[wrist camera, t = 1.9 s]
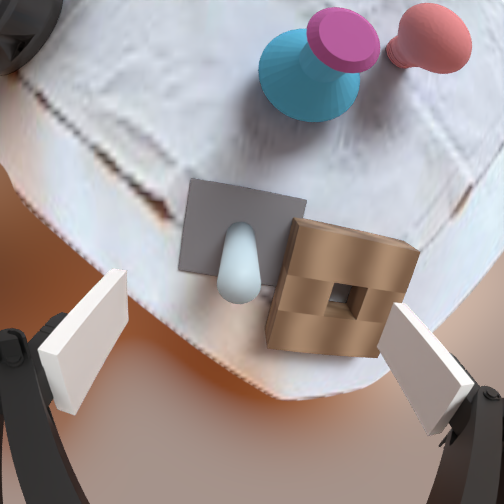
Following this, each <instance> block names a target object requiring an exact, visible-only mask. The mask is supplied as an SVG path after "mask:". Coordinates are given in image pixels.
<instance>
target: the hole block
mask: <svg viewBox="0 0 504 504" xmlns="http://www.w3.org/2000/svg"><path fill="white" fill-rule="evenodd" d="M419 255H420V251H418V250H417V249H415V248H414V247H412V246H411V245H409V244H408V243H406V242H405V241H402V240H398V239H393V238H389V237H385V236H381V235H377V234H372V233H368V232H364V231H359V230H355V229H350V228H346V227H341V226H337V225H332V224H327V223H323V222H318V221H313V220H308V219H304V218H303V219H300V218H295V217H293V221H292V225H291V229H290V234H289V238H288V242H287V246H286V250H285V254H284V258H283V263H282V267H281V271H280V275H279V279H278V283H277V286H276V288H275V292H274V296H273V300H272V304H271V307H270V311H269V315H268V319H267V323H266V327H265V334H266V342H267V348H268V349H276V350H285V351H293V352H303V353H313V354H324V355H337V356H351V357H367V358H378V356H379V354H380V351H379V349H378V348H377V345H378V343H379V340H380V338H381V335H382V333H383V330H384V327H385V325H386V322H387V319H388V317H389V314H390V311H391V308H392V305H393V302H394V303H402V301H403V299H404V296H405V293H406V291H407V288H408V286H409V283H410V280H411V278H412V275H413V272H414V269H415V266H416V263H417V260H418V257H419ZM334 283H341V284H347V285H352V288H351V291H350V294H349V296H348V299H347V302H346V303H340V302H333V301H329V298H330V295H331V292H332V288H333V285H334Z"/></svg>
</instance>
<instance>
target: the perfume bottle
mask: <svg viewBox="0 0 504 504" xmlns="http://www.w3.org/2000/svg"><path fill="white" fill-rule="evenodd" d="M379 54H380V42H379V38H378V35H377V33H376V31H375V30H374V28H373V26H372V25H371V24H370V23H369V22H368V21H367V20H366V19H365V18H364V17H362V16H361V15H359V14H358V13H356V12H354V11H351V10H348V9H345V8H338V7H333V8H326V9H323V10H321V11H319V12H317V13H316V14H315V15H314V16H312V18H311V19H310V21H309V23H308V26H307V29H296V30H290V31H287V32H285V33H282V34H280V35H279V36H277V37H276V38H274V39H273V40H272V41H271V42H270V43H269V44H268V45H267V46H266V48H265V49H264V51H263V53H262V55H261V58H260V61H259V69H258V71H259V80H260V84H261V87H262V90H263V92H264V94H265V95H266V97H267V99H268V100H269V101H270V102H271V103H272V105H273V106H274V107H275V108H277V109H278V110H279V111H280V112H282V113H283V114H285V115H287V116H289V117H291V118H294V119H297V120H300V121H306V122H323V121H328V120H331V119H334V118H336V117H338V116H340V115H341V114H343V113H344V112H346V111H347V110H348V109H349V108H350V106H351V105H352V104H353V103H354V101H355V99H356V97H357V94H358V91H359V86H360V75H359V73H360V72H363V71H366V70H368V69H369V68H371V67H372V66H373V65H374V64H375V63H376V61H377V59H378V57H379Z"/></svg>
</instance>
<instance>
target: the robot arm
mask: <svg viewBox="0 0 504 504" xmlns="http://www.w3.org/2000/svg"><path fill="white" fill-rule="evenodd" d="M62 4H63V0H0V75H6V74H9V73H12V72H14V71H16V70H17V69H19V68H20V67H22V66H23V65H24V64H25V63H27V62H28V61H29V60H30V59H31V58H32V57H33V56H34V55H35V54H36V53H37V52H38V50H39V49H40V48H41V47H42V45H43V44H44V43H45V41H46V40H47V38H48V37H49V35H50V34H51V32H52V30H53V28H54V26H55V24H56V22H57V20H58V18H59V15H60V12H61V9H62ZM127 322H128V303H127V271H126V270H120V269H114V268H112V269H111V270H110V271H109V272H108V273H107V274H106V275H105V276H104V277H103V278H102V279H101V280H100V281H99V282H98V283H97V284H96V285H95V286H94V287H93V289H91V290H90V291H89V292H88V294H87V295H86V296H85V297H84V298H83V299H82V300H81V301H80V302H79V303H78V304H77V305H76V306H75V307H74V309H73V310H72V311H71V312H70V313H69V314H67V313H63V312H61V313H59V314H57V315H55V316H53V317H52V318H51V319H50V320H49V321H48V322H47V323H46V324H45V326H43V327H42V328H41V329H40V331H39V332H37V333H36V335H35V336H34V337H33V338H32V339H31V340H30V341H29V342H28V343H27V339H26V336H25V334H24V333H23V332H22V331H21V330H18V329H14V328H10V329H4V330H1V331H0V504H3V497H2V439H3V438H2V437H3V425H4V421H5V426H6V432H7V437H8V441H9V446H10V450H11V454H12V458H13V462H14V466H15V469H16V473H17V477H18V480H19V483H20V486H21V489H22V492H23V495H24V498H25V501H26V504H90V503H89V502H88V500H87V498H86V496H85V494H84V492H83V490H82V488H81V486H80V484H79V482H78V480H77V477H76V475H75V473H74V471H73V469H72V466H71V464H70V462H69V459H68V457H67V455H66V452H65V450H64V447H63V444H62V442H61V439H60V437H59V434H58V431H57V429H56V425H55V423H54V420H53V417H52V414H51V411H50V408H49V404H50V403H51V401H52V400H53V399H54V402H55V404H56V407H57V409H58V410H61V411H64V412H67V413H69V414H72V415H76V413H77V411H78V409H79V407H80V405H81V404H82V402H83V400H84V398H85V396H86V394H87V392H88V390H89V389H90V387H91V385H92V383H93V381H94V379H95V378H96V376H97V374H98V372H99V370H100V369H101V367H102V365H103V363H104V362H105V360H106V358H107V356H108V355H109V353H110V351H111V349H112V348H113V346H114V344H115V342H116V341H117V339H118V337H119V336H120V334H121V332H122V331H123V329H124V327H125V326H126V324H127ZM377 348H378V349H379V351H380V353H381V354H382V356H383V358H384V359H385V361H386V363H387V364H388V366H389V368H390V370H391V371H392V373H393V375H394V376H395V378H396V380H397V382H398V383H399V385H400V386H401V388H402V390H403V392H404V394H405V396H406V397H407V399H408V401H409V403H410V404H411V406H412V408H413V410H414V412H415V413H416V415H417V417H418V419H419V420H420V422H421V424H422V426H423V428H424V430H425V432H426V434H427V435H428V436H430V435H434V434H439V433H441V432H442V431H443V430H444V428H445V427H446V426H447V424H448V423H449V424H450V426H451V427H452V429H451V430H450V431H449V433H448V434H447V435H446V437H445V438H444V439H443V440H442V442H441V443H440V444H439V447H441V446H442V444H444V443H445V447H444V450H443V454H442V458H441V462H440V465H439V468H438V471H437V475H436V478H435V481H434V484H433V487H432V490H431V492H430V495H429V498H428V501H427V503H426V504H504V398H501V396H500V394H499V393H498V392H497V391H496V390H495V389H493V388H491V387H488V386H481V387H480V386H479V385H478V384H477V382H476V381H475V380H474V379H473V377H471V375H470V374H469V373H468V371H467V370H465V368H464V367H463V365H461V364H460V362H459V361H458V359H457V358H456V357H455V356H454V355H452V354H451V353H450V352H448V351H447V350H446V348H445V347H444V346H443V345H442V344H441V343H440V342H439V340H438V339H437V338H436V337H435V336H434V335H433V333H432V332H431V331H430V330H429V329H428V328H427V327H426V326H425V324H424V323H423V322H422V321H421V320H420V319H419V318H418V317H417V316H416V314H415V313H414V312H413V311H412V310H411V309H410V308H409V307H408V306H407V305H406V304H405V303H394V302H393V305H392V308H391V311H390V314H389V317H388V319H387V322H386V325H385V327H384V330H383V333H382V335H381V338H380V340H379V343H378V345H377Z"/></svg>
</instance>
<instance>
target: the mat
mask: <svg viewBox="0 0 504 504" xmlns="http://www.w3.org/2000/svg"><path fill="white" fill-rule="evenodd" d="M306 202H307V200H304V199H300V198H295V197H290V196H285V195H281V194H276V193H271V192H266V191H261V190H255V189H250V188H245V187H240V186H234V185H228V184H223V183H217V182H211V181H205V180H199V179H193V178H192V179H191V184H190V190H189V196H188V203H187V209H186V216H185V223H184V230H183V238H182V246H181V254H180V262H179V270H185V271H190V272H196V273H201V274H207V275H213V276H218V274H219V268H220V263H221V258H222V253H223V248H224V242H225V237H226V232H227V230H228V228H229V227H230V226H231V225H232V224H233V223H236V222H245V223H247V224H249V225H250V226H251V227H252V228H253V230H254V233H255V240H256V248H257V255H258V263H259V271H260V279H261V284H265V285H271V286H277V283H278V279H279V275H280V271H281V267H282V263H283V258H284V254H285V250H286V246H287V242H288V238H289V234H290V229H291V225H292V221H293V217H295V218H300V219H303V215H304V211H305V207H306Z"/></svg>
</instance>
